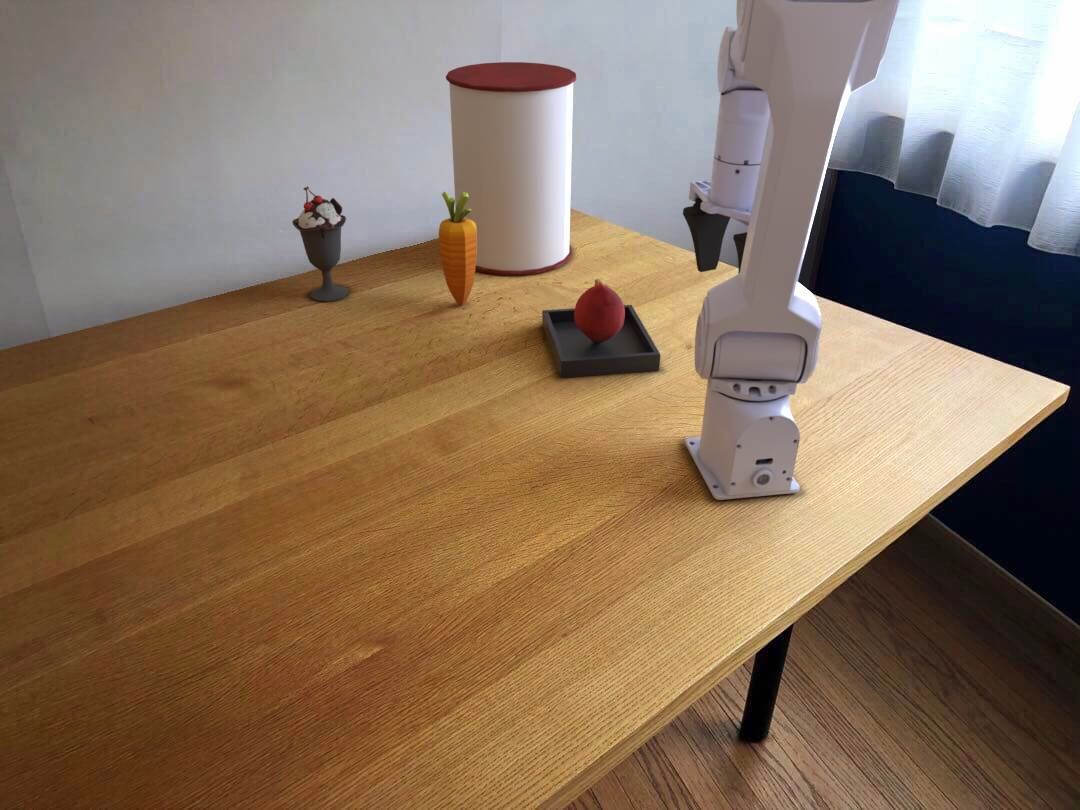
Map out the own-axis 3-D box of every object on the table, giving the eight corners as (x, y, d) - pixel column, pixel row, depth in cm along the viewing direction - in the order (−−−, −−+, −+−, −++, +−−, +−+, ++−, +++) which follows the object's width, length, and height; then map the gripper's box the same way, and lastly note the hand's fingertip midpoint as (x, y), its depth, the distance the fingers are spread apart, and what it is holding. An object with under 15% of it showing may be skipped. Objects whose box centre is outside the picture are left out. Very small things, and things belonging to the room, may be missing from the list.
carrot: (436, 301, 112) (429, 187, 104) (472, 294, 114) (467, 182, 106) (449, 316, 108) (443, 199, 100) (486, 309, 110) (482, 194, 102)
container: (581, 272, 120) (587, 85, 107) (458, 279, 118) (448, 89, 105) (562, 230, 135) (565, 60, 122) (451, 234, 133) (443, 63, 120)
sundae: (304, 307, 110) (287, 192, 102) (302, 286, 116) (285, 176, 108) (356, 301, 112) (343, 188, 104) (352, 281, 117) (339, 172, 109)
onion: (623, 333, 103) (627, 270, 99) (622, 355, 98) (626, 291, 94) (574, 330, 103) (576, 268, 99) (571, 353, 99) (573, 288, 94)
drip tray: (659, 370, 96) (660, 354, 95) (560, 378, 95) (561, 361, 94) (630, 319, 107) (631, 304, 106) (542, 325, 106) (542, 310, 105)
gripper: (670, 144, 91) (660, 264, 98) (754, 182, 80) (736, 314, 87) (725, 137, 94) (711, 255, 101) (814, 172, 82) (792, 302, 90)
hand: (726, 282), depth 94 cm, fingers open, 7 cm apart
